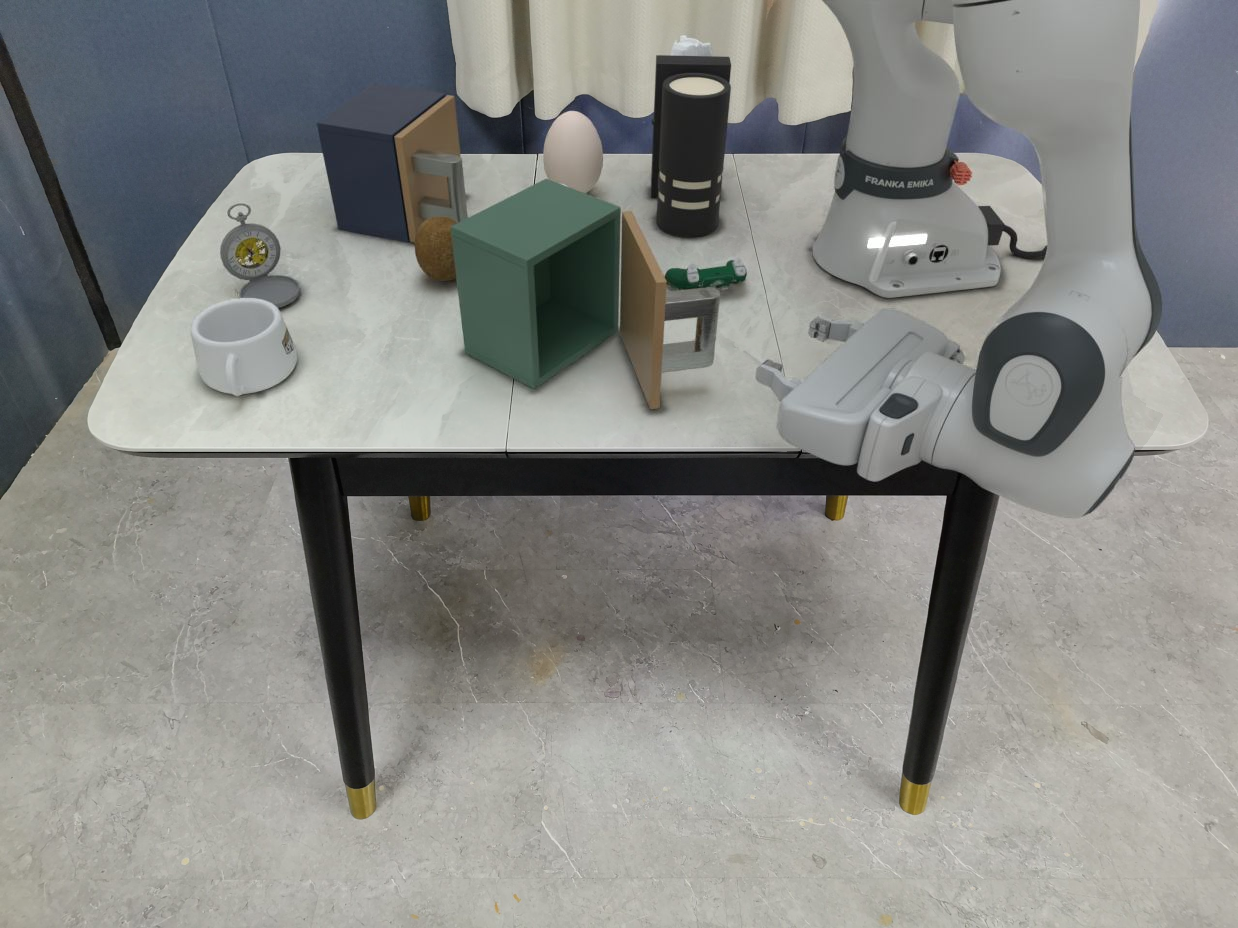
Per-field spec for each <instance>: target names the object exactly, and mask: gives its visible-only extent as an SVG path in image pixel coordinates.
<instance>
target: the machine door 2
mask: <svg viewBox="0 0 1238 928" xmlns="http://www.w3.org/2000/svg"><path fill="white" fill-rule="evenodd" d="M667 284H668V282H667V281H666V279H665V275H664V273H663V271H662V269H661V267H660V265H659V263H658V261H657V259H656V257H655V255H654V253H653V251H652V249H651V246H650V245H649V243H648V241H647V239H646V236H645V234H644V232H643V231H642V229H641V227H640V224H639V223H638V220H637V219H636V217H635V214H634V213H633V211H632V210H622V212H621V243H620V293H619V334H620V337H621V339H622V342H623V344H624V347H625V349H626V350H625V351H626V352H627V355H628V357H629V359H630V362H631V365H632V368H633V370H634V373H635V375H636V377H637V380H638V383H639V385H640V388H641V390H642V393H643V396H644V398H645V400H646V403H647V405H648V408H649V410H656V409H658V410H659V409H660V408H661V407H660V404H661V390H662V389H661V387H662V373H670V372H679V371H687V370H695V369H703V368H704V369H705V368H709V367H711V366H712V365H713V364H714V359H715V350H716V341H717V340H716V339H717V331H718V321H719V313H720V312H719V310H720V303H721V302H720V301H721V291H719V289H718V288H716V287H713V286H712V287H706V288H697V289H687V290H681V289H677V290H671V291H667V287H668V286H667ZM686 319H688V320H689V319H696V325H695V337H694V340H687V341H680V342H679V341H678V342H671V343H664V337H665V322H670V321H678V320H686Z"/></svg>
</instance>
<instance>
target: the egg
mask: <svg viewBox="0 0 1238 928" xmlns="http://www.w3.org/2000/svg"><path fill="white" fill-rule="evenodd" d="M542 151H543V153H542V160H543V161H542V162H543V168H544V173H545V175H546V177H547V179H549V180H551V181H554V182H557V183H560V184H564V185H567V186H568V187H570V188H572V189H575V190H577V191H580V192H583V193H585V194H588V193H589V192H590V191H592V190H593V188H594V187H595V185H597V183H598V181H599V179H600V177H601V175H602V172H603V171H602V170H603V166H604V152H603V151H604V150H603V144H602V140H601V139H600V135H599V134H598V131H597V128H596V127H595V126H594V123H593V121H592V120H591V119H589V117H587V116H586V115H585V114H583V113H581V112H580V111H577V110H569V111H565V112H563V113H561V114H560V115H558V116H557V117H556V119H555V120H553V122H552V124H551V126H550V127H549V129H548V132H547V133H546V136H545V141H544V144H543V149H542Z"/></svg>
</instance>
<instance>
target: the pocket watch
mask: <svg viewBox="0 0 1238 928" xmlns="http://www.w3.org/2000/svg"><path fill="white" fill-rule="evenodd" d="M239 206H243V207H246V208H247V213H246V214H244V213H243V212H242V211H239V212H237V215H236V217H234V216H233V215H231V210H233V208H235V207H239ZM251 212H252V208H251V206H250V205H248V204H246V203H235V204H233V205H231V206H230V207H228V210H227V211H226V213H227V214H226V215H227V216H228V218H230V219H232V220H234V221H236V222H239V223H240V224H239V225H237V226H235V227H233V228H232V229H230V230H229V231H228V232H227V233H226V234H225V236H224V238H223V239H222V242H221V244H220V251H219V253H220V260H221V262H222V263H221V264H222V265H223V267H224V268H225V269H226V270H227V272H228V273H229V274H230V275H231V276H233V277H235V278H237V279H240V280H245V281H248V282H247V283H245V284H244V285H243V286H242V287H241V288H240V290H239V292H238V293H239V295H238V296H239V297H238V298H256V299H262V300H265V301H268V302H271V303H272V304H274V305H275V306H276V307H277V308H278V309H279V308H283V307H286V306H287V305H289V304H292V303H293V302H294V301H295V300H296V299H298V297H299V296H300V293H301V286H300V283H299V281H298V280H297V279H295V278H293V277H291V276H287V275H282V274H274V275H269V274H270V273H271V272H273V270H275V268H276V266H278V263H279V262H280V258H281V251H282V250H281V249H282V247H281V245H280V241H279V238H278V237H277V236H276V234H275V233H274V232H273V231H272V230H271V229H270V228H268V227H266V226H265V225H262V224H259V223H254V222H251V223H250V222H249V223H246V220H247V219H248V217H249V216H250V214H251ZM263 250H264V252H263V253H261V251H263ZM246 257H247V259H246ZM247 262H249V264H247ZM251 263H252V264H251Z"/></svg>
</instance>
